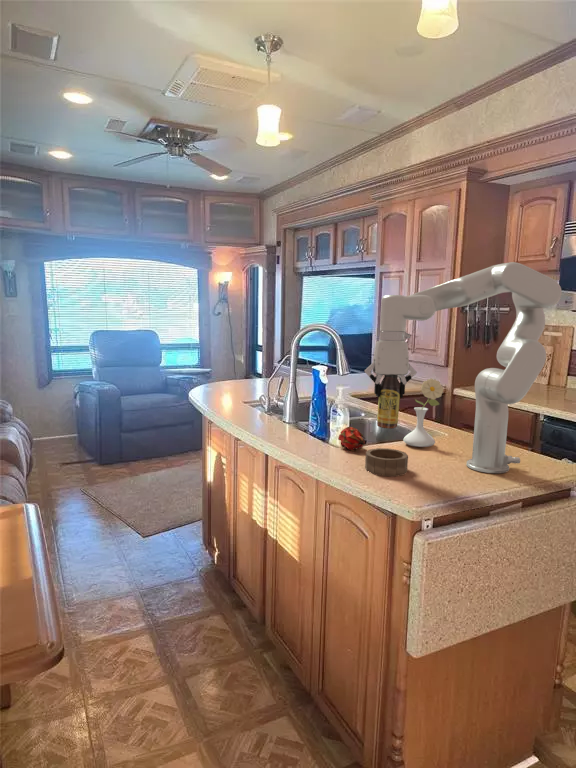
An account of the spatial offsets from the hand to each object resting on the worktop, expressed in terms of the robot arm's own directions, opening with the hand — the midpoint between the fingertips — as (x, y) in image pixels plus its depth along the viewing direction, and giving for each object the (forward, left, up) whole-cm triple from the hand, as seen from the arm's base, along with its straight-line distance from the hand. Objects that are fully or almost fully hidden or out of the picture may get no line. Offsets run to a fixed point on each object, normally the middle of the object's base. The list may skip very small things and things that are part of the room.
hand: (389, 396), depth 152 cm
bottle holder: (0, 0, -23) cm, 23 cm away
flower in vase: (-19, -29, -23) cm, 42 cm away
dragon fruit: (+7, -23, -23) cm, 33 cm away
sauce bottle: (0, 0, -10) cm, 10 cm away
